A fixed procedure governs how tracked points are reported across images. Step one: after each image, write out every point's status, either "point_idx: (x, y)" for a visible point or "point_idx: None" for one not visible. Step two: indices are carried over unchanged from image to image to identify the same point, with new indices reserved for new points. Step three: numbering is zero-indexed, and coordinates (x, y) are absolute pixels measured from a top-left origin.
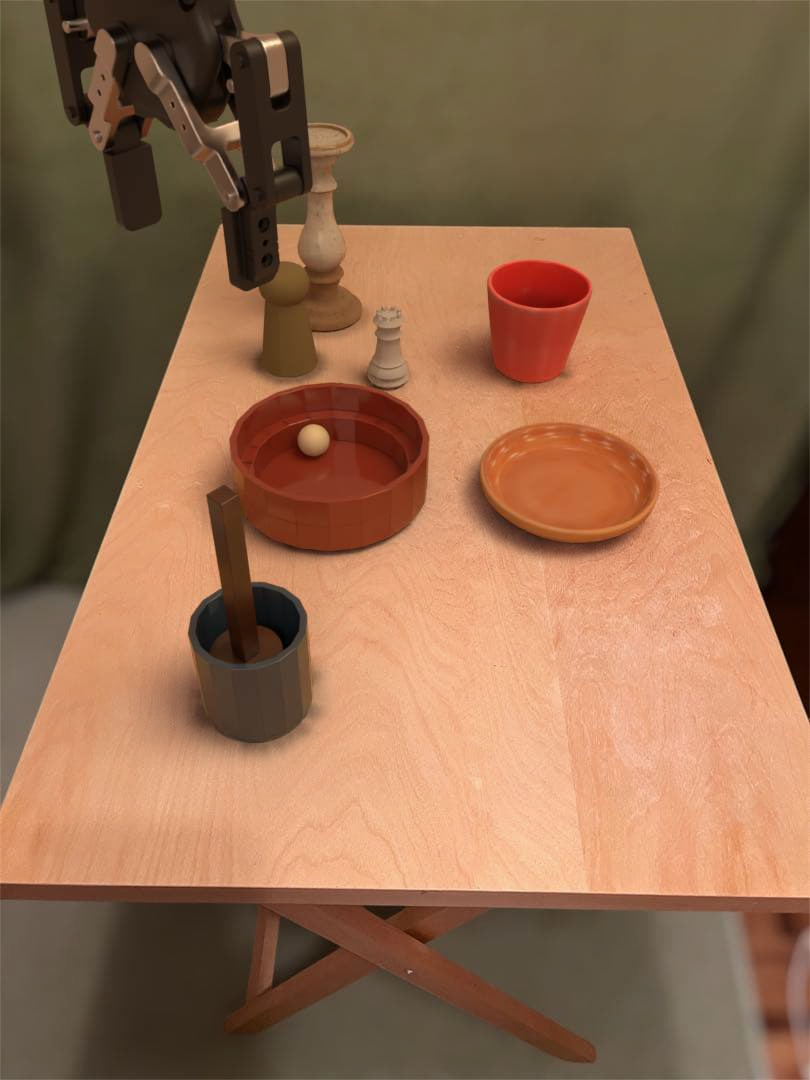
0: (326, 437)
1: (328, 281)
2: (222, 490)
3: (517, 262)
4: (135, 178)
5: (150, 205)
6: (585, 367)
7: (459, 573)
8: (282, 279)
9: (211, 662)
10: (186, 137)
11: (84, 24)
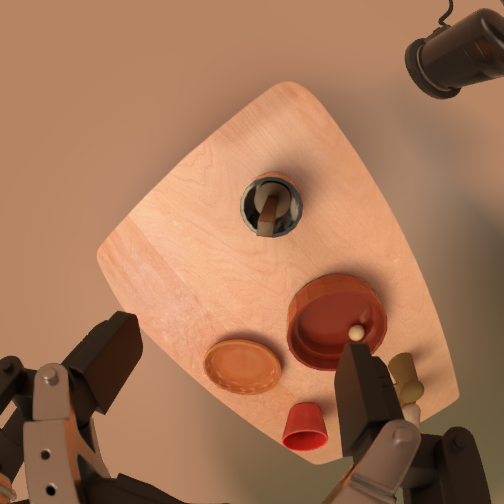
0: (350, 337)
1: (401, 403)
2: (268, 231)
3: (321, 445)
4: (349, 407)
5: (339, 385)
6: (283, 417)
7: (250, 307)
8: (411, 393)
9: (266, 177)
10: (48, 441)
11: None
